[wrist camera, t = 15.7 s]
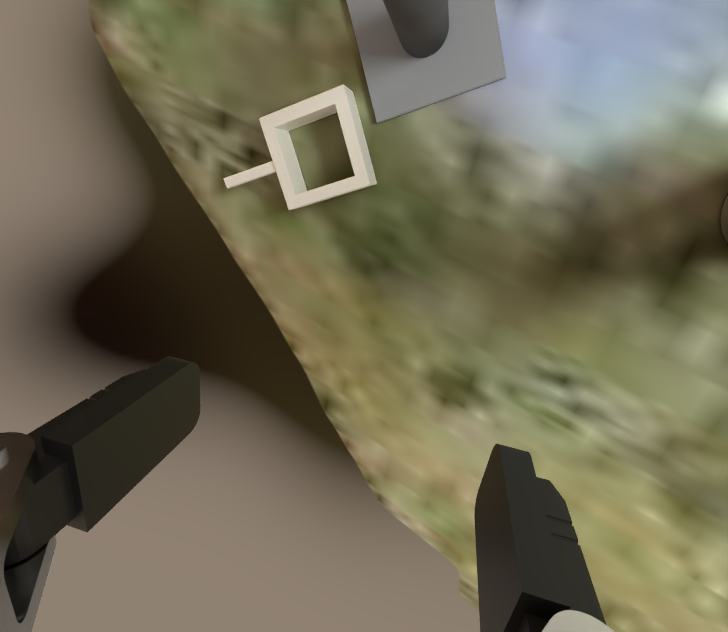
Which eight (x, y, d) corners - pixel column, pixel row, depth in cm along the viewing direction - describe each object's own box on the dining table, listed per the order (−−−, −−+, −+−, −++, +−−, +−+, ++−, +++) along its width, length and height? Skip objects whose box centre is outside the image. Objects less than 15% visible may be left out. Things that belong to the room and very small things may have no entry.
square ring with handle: (353, 92, 37) (343, 84, 34) (377, 184, 40) (370, 184, 36) (226, 141, 42) (207, 138, 38) (255, 221, 44) (239, 225, 41)
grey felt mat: (479, -86, 31) (480, -89, 30) (505, 77, 34) (506, 76, 34) (342, -18, 34) (341, -21, 34) (378, 123, 38) (377, 122, 37)
